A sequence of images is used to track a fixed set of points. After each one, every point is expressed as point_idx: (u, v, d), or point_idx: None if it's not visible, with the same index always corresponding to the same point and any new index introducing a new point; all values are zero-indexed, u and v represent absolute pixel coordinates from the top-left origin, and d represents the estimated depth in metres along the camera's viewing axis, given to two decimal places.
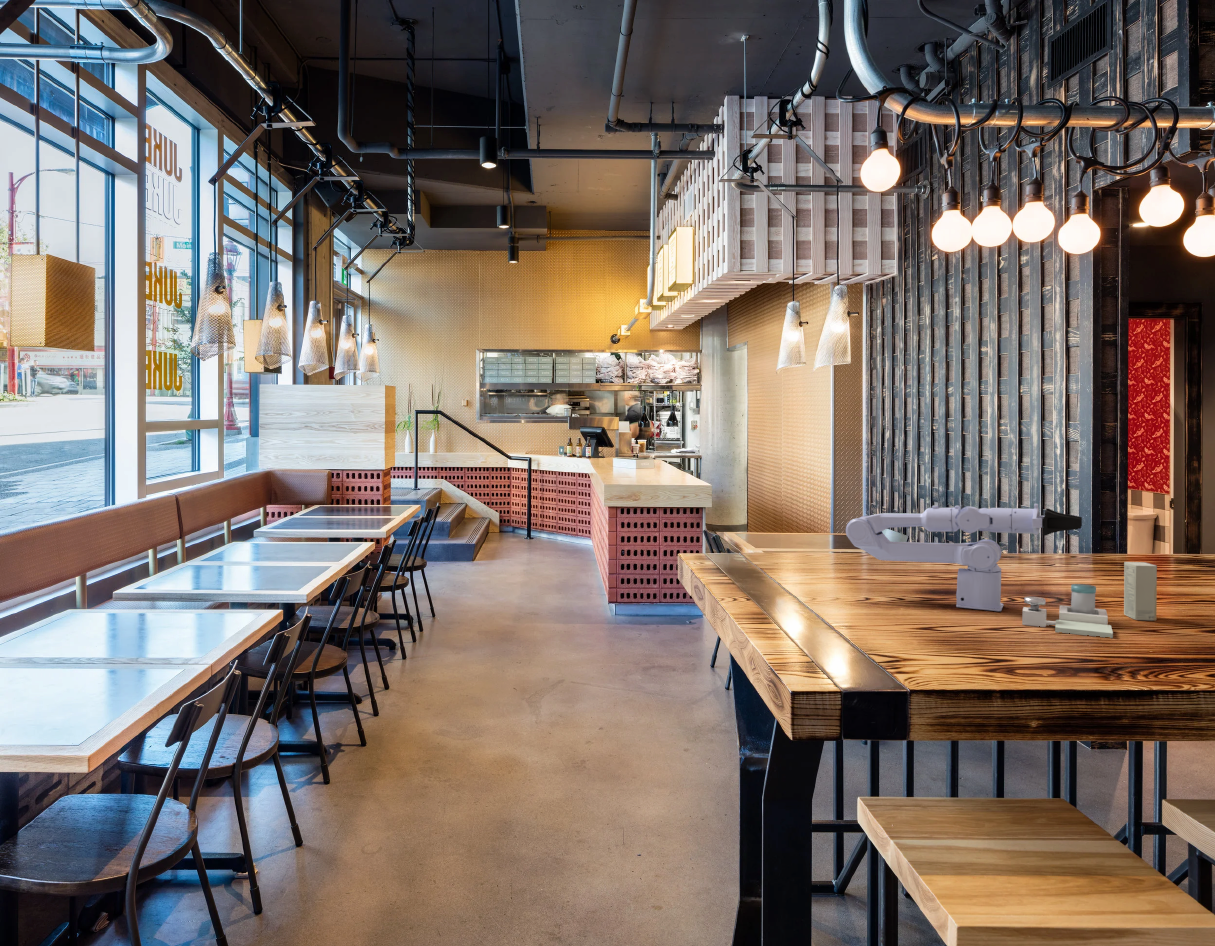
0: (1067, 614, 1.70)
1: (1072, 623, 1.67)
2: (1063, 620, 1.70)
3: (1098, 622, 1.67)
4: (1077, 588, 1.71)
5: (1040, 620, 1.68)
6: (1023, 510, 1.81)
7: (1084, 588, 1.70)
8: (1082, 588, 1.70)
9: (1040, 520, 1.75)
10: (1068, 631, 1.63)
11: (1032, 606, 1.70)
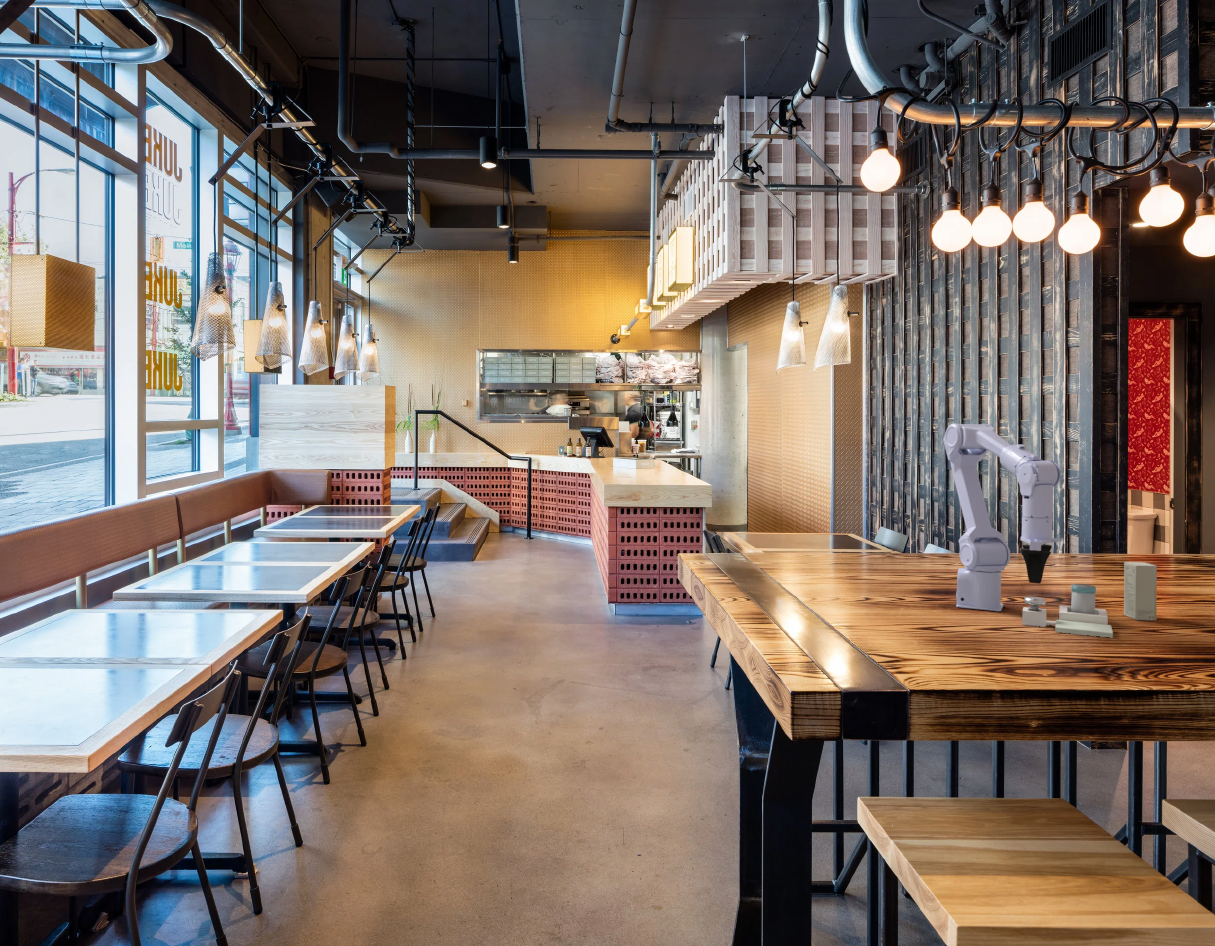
0: (1067, 614, 1.70)
1: (1072, 623, 1.67)
2: (1063, 620, 1.70)
3: (1098, 622, 1.67)
4: (1077, 588, 1.71)
5: (1040, 620, 1.68)
6: (1050, 528, 1.68)
7: (1084, 588, 1.70)
8: (1082, 588, 1.70)
9: (1038, 549, 1.64)
10: (1068, 631, 1.63)
11: (1032, 606, 1.70)
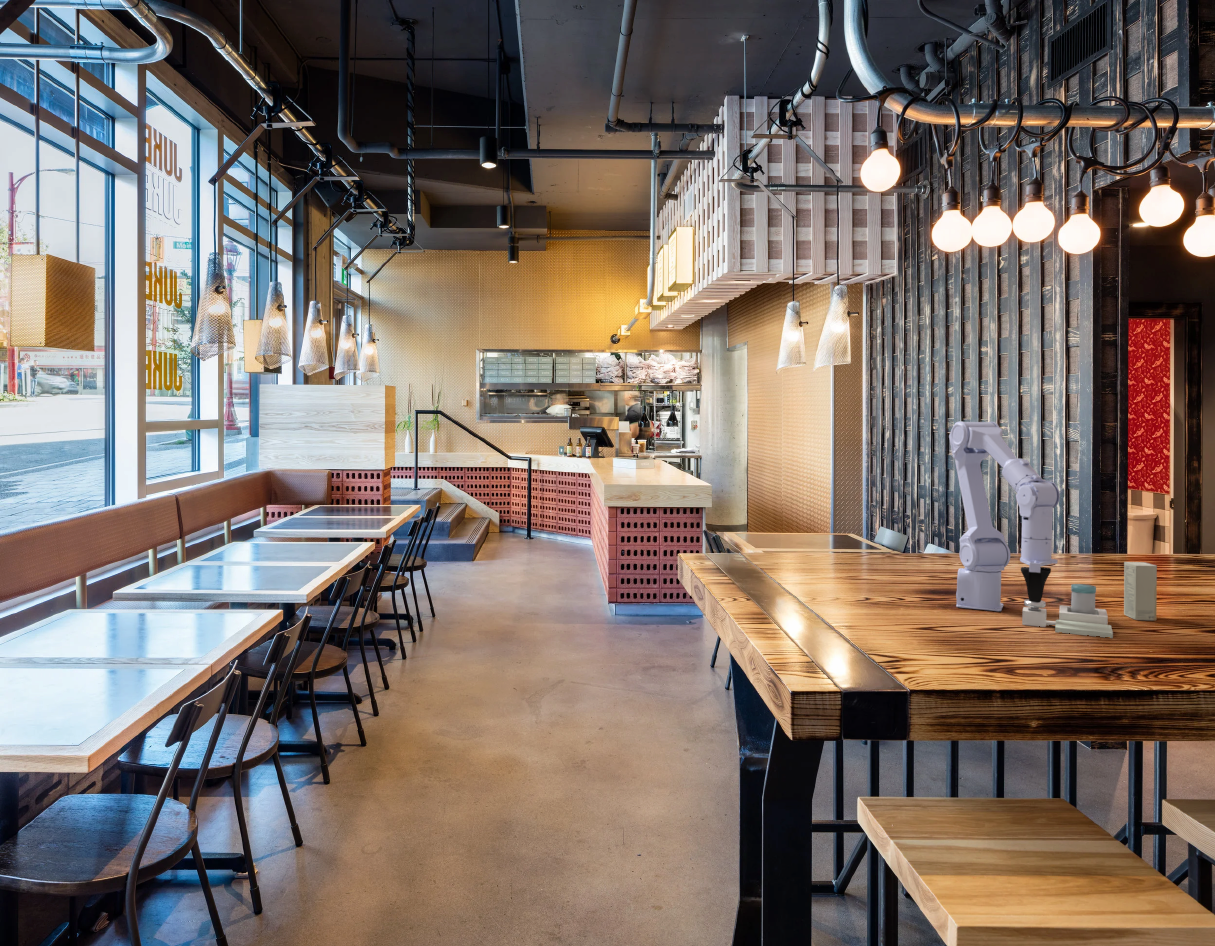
0: (1067, 614, 1.70)
1: (1072, 623, 1.67)
2: (1063, 620, 1.70)
3: (1098, 622, 1.67)
4: (1077, 588, 1.71)
5: (1040, 620, 1.68)
6: (1049, 550, 1.68)
7: (1084, 588, 1.70)
8: (1082, 588, 1.70)
9: (1038, 571, 1.64)
10: (1068, 631, 1.63)
11: (1032, 609, 1.71)
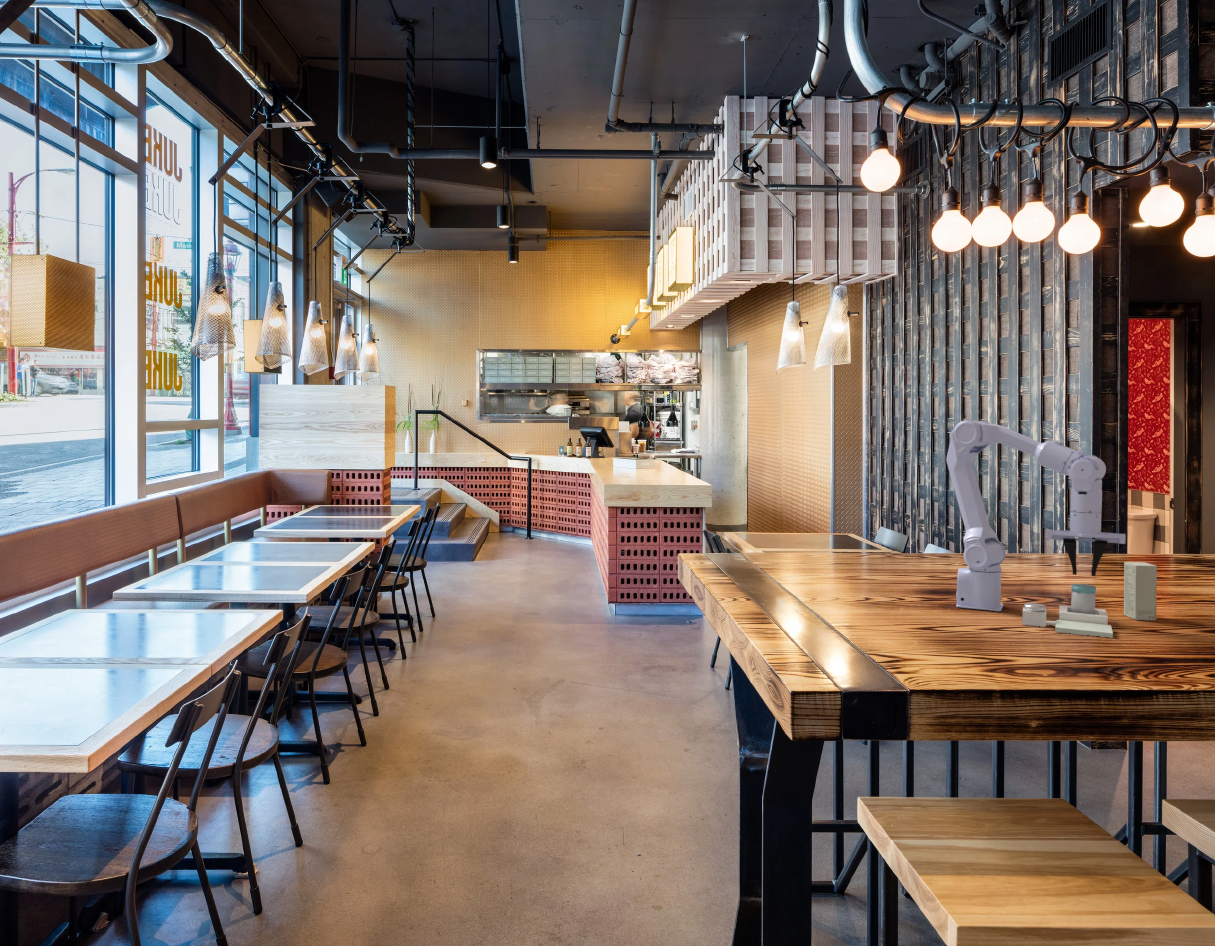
0: (1067, 614, 1.70)
1: (1072, 623, 1.67)
2: (1063, 620, 1.70)
3: (1098, 622, 1.67)
4: (1077, 588, 1.71)
5: (1040, 620, 1.68)
6: (1078, 523, 1.70)
7: (1084, 588, 1.70)
8: (1082, 588, 1.70)
9: None
10: (1068, 631, 1.63)
11: None
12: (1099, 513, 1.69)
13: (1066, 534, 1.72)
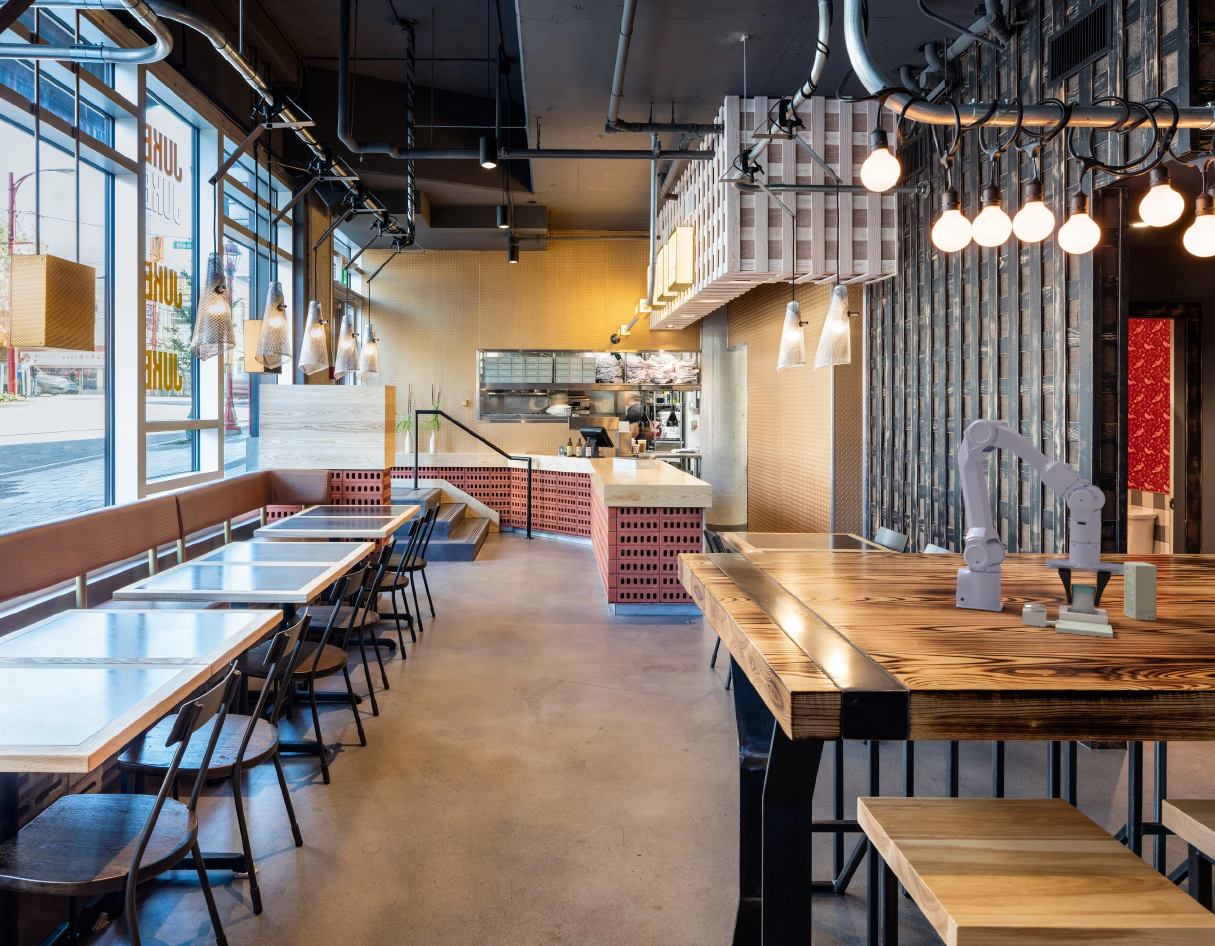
0: (1067, 614, 1.70)
1: (1072, 623, 1.67)
2: (1063, 620, 1.70)
3: (1098, 622, 1.67)
4: (1077, 588, 1.71)
5: (1040, 620, 1.68)
6: (1077, 553, 1.70)
7: (1084, 588, 1.70)
8: (1082, 588, 1.70)
9: None
10: (1068, 631, 1.63)
11: None
12: (1098, 543, 1.69)
13: (1065, 564, 1.72)
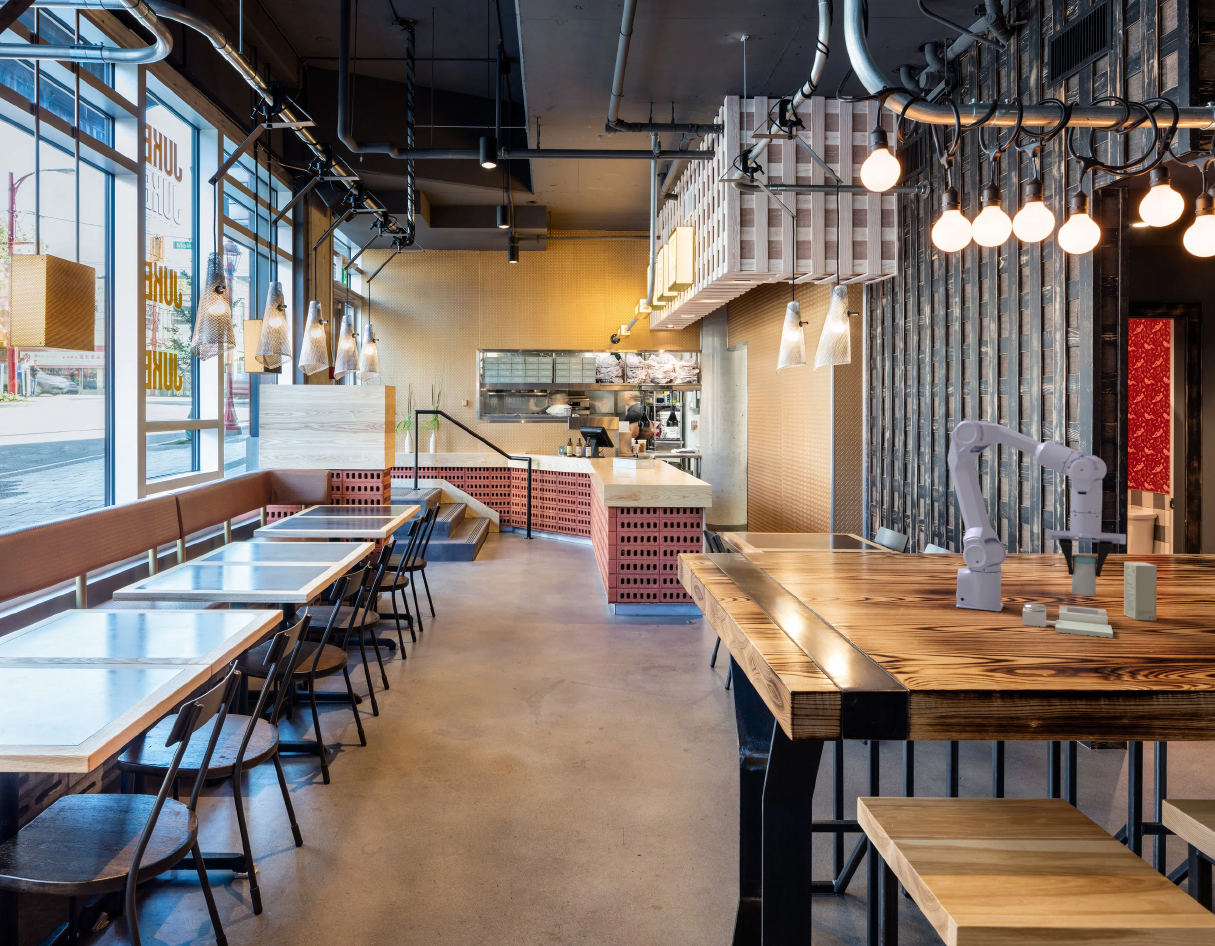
0: (1067, 614, 1.70)
1: (1072, 623, 1.67)
2: (1063, 620, 1.70)
3: (1098, 622, 1.67)
4: (1078, 558, 1.70)
5: (1040, 620, 1.68)
6: (1078, 523, 1.69)
7: (1085, 558, 1.69)
8: (1084, 558, 1.69)
9: None
10: (1068, 631, 1.63)
11: None
12: (1099, 513, 1.68)
13: (1066, 534, 1.71)
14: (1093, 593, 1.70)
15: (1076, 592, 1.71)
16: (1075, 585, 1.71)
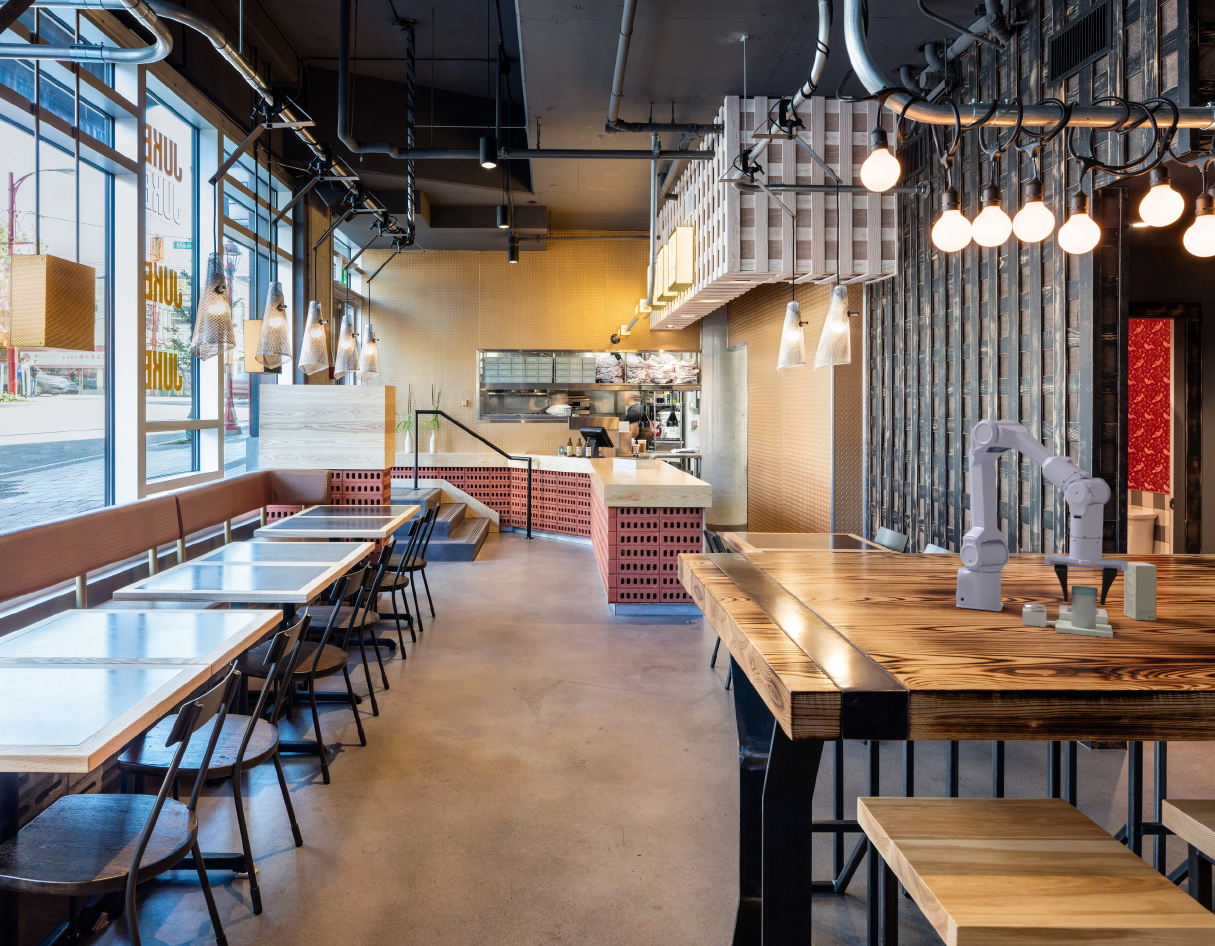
0: (1067, 614, 1.70)
1: None
2: (1063, 620, 1.70)
3: (1098, 622, 1.67)
4: (1078, 590, 1.63)
5: (1040, 620, 1.68)
6: (1077, 549, 1.63)
7: (1085, 590, 1.63)
8: (1083, 590, 1.63)
9: (1045, 563, 1.67)
10: (1068, 631, 1.63)
11: None
12: (1100, 539, 1.61)
13: (1065, 560, 1.64)
14: (1093, 626, 1.63)
15: (1075, 625, 1.64)
16: (1075, 617, 1.64)
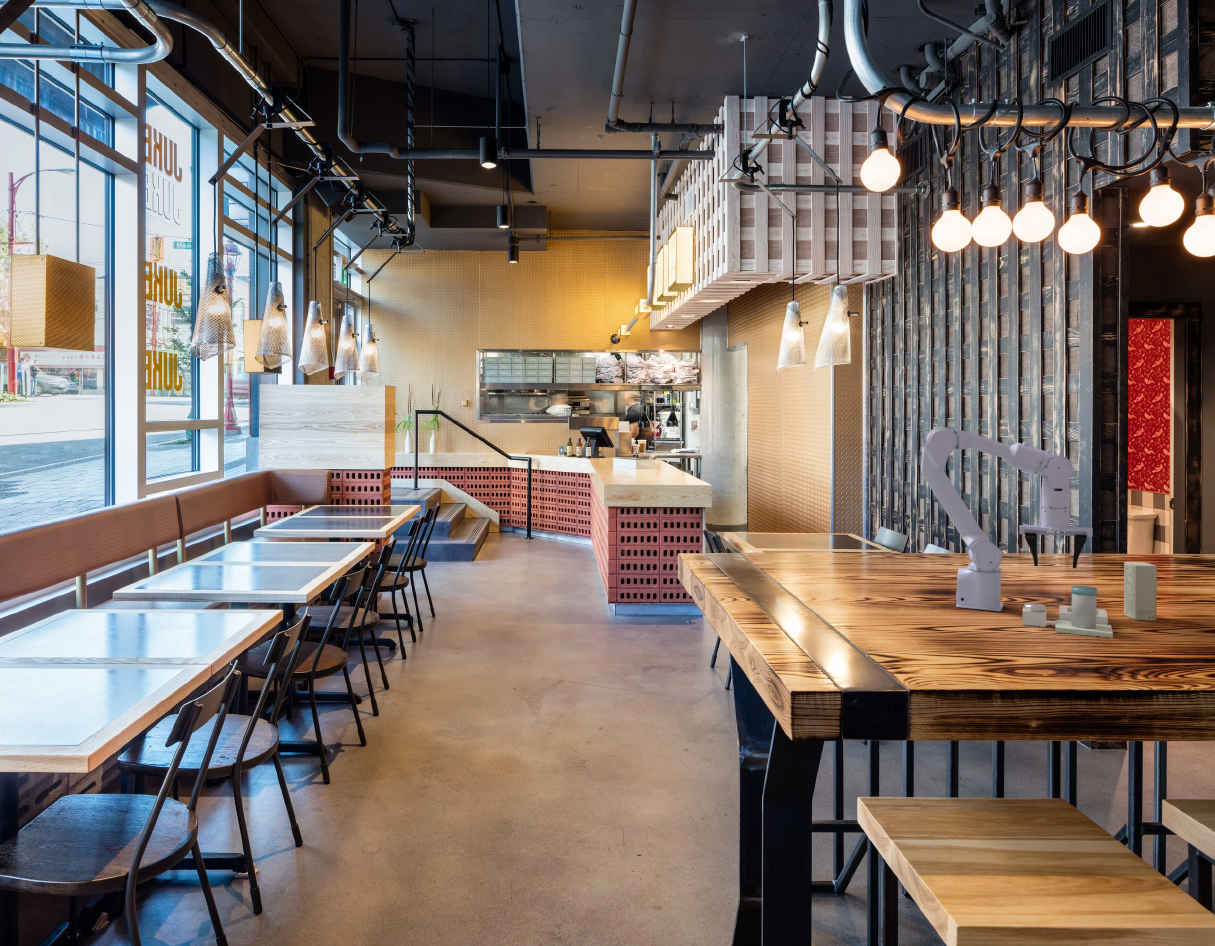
0: (1067, 614, 1.70)
1: None
2: (1063, 620, 1.70)
3: (1098, 622, 1.67)
4: (1078, 590, 1.63)
5: (1040, 620, 1.68)
6: (1048, 518, 1.81)
7: (1085, 590, 1.63)
8: (1083, 590, 1.63)
9: None
10: (1068, 631, 1.63)
11: None
12: (1067, 508, 1.80)
13: (1037, 529, 1.82)
14: (1093, 626, 1.63)
15: (1075, 625, 1.64)
16: (1074, 618, 1.64)
